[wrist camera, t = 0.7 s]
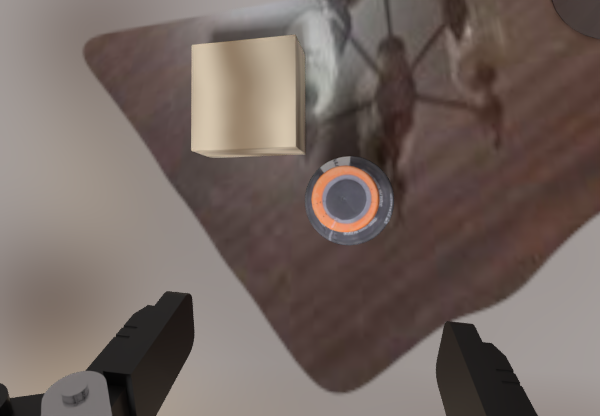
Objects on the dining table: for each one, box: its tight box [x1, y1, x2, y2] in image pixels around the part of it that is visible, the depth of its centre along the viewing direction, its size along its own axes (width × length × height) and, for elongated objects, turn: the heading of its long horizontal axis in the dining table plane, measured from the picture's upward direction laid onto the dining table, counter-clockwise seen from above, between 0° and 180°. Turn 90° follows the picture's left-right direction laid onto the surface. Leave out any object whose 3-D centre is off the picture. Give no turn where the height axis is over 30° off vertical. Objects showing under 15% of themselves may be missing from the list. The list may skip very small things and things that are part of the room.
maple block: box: [191, 35, 305, 158], centre depth 34 cm, size 9×9×4 cm
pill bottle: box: [305, 156, 394, 245], centre depth 28 cm, size 6×6×11 cm
